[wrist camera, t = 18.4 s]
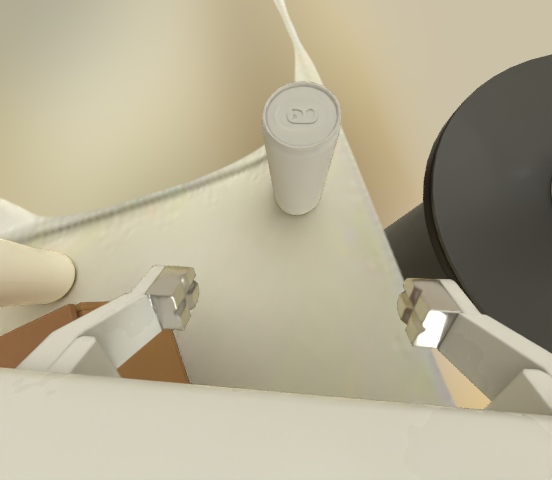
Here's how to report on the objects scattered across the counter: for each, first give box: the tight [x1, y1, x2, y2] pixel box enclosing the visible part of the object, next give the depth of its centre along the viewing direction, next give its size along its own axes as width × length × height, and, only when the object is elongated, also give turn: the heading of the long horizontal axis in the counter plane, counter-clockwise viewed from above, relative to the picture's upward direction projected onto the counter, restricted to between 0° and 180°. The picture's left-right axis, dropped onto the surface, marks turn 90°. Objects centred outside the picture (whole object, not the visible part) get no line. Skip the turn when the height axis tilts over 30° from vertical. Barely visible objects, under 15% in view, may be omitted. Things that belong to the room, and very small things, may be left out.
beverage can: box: [262, 81, 341, 215], centre depth 20 cm, size 5×5×12 cm
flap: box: [0, 304, 78, 369], centre depth 13 cm, size 7×12×1 cm, turn 25°
